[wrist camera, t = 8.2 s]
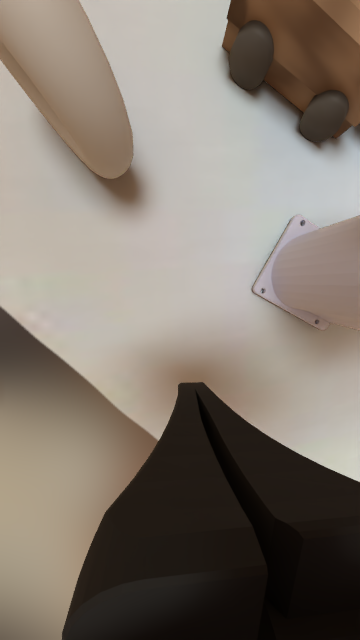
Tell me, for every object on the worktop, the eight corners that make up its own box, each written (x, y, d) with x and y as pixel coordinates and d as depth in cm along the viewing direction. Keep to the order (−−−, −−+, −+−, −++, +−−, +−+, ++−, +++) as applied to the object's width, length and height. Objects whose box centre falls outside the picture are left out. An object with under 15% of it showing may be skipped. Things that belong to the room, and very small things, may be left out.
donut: (151, 183, 16) (129, 21, 6) (122, 211, 16) (56, 100, 6) (58, 65, 14) (-210, -483, 4) (27, 99, 14) (-299, -331, 4)
